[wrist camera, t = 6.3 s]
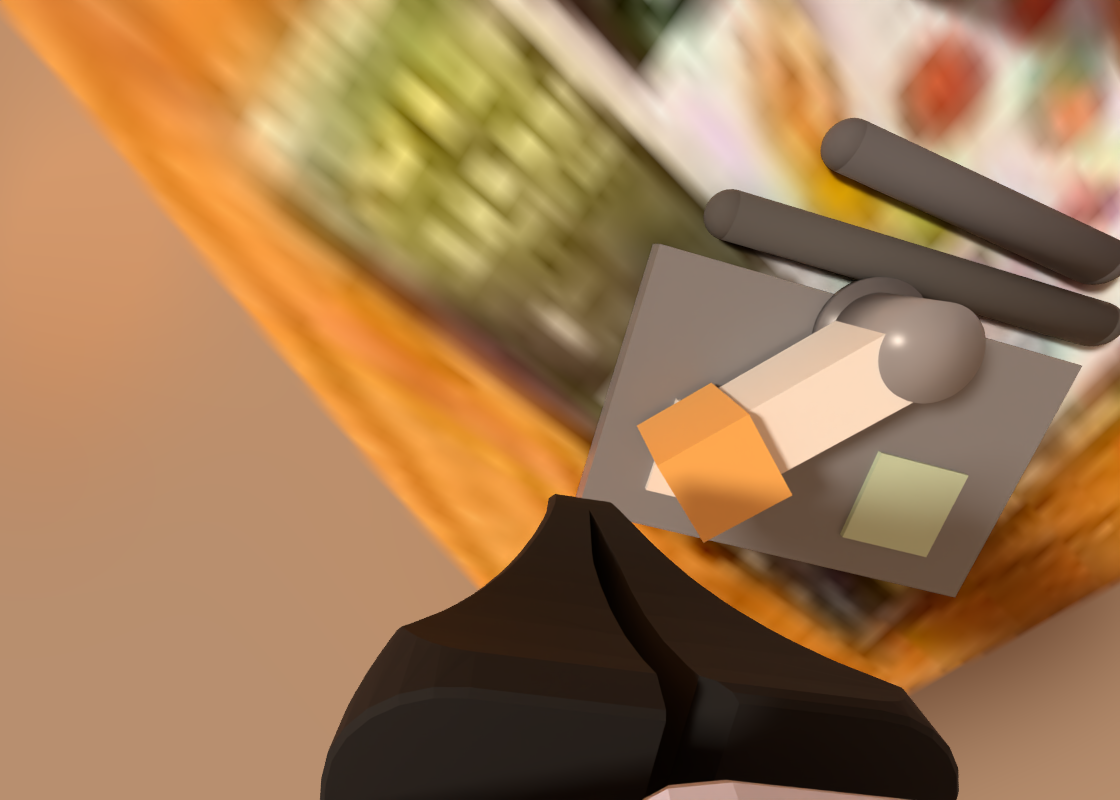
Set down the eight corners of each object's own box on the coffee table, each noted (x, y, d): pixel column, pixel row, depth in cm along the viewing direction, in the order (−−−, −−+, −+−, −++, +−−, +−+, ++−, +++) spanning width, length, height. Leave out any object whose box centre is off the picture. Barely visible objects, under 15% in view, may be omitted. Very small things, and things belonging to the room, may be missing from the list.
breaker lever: (929, 350, 19) (1016, 375, 15) (675, 490, 20) (703, 542, 16) (898, 275, 18) (982, 282, 14) (636, 425, 19) (656, 465, 16)
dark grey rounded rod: (1107, 246, 19) (1155, 247, 18) (1079, 289, 20) (1125, 293, 18) (826, 116, 18) (852, 103, 16) (803, 164, 18) (827, 157, 17)
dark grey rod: (1102, 305, 20) (1148, 310, 18) (1079, 346, 20) (1123, 355, 19) (707, 185, 18) (721, 180, 17) (691, 232, 19) (704, 232, 17)
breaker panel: (1065, 333, 20) (1105, 340, 19) (934, 579, 23) (960, 602, 22) (662, 214, 19) (671, 212, 17) (576, 495, 21) (578, 513, 20)
